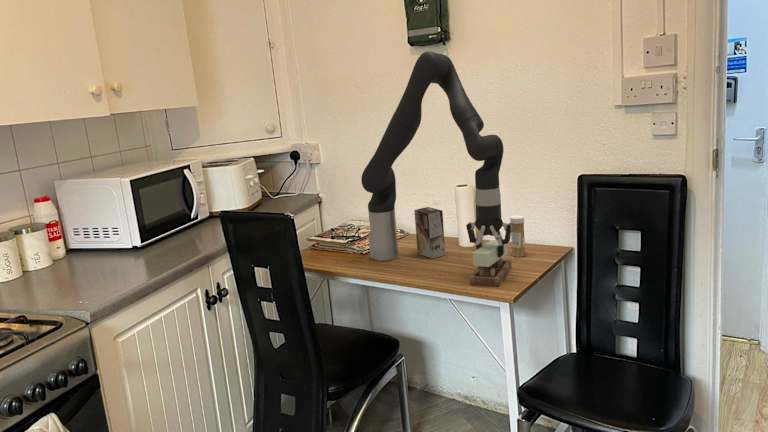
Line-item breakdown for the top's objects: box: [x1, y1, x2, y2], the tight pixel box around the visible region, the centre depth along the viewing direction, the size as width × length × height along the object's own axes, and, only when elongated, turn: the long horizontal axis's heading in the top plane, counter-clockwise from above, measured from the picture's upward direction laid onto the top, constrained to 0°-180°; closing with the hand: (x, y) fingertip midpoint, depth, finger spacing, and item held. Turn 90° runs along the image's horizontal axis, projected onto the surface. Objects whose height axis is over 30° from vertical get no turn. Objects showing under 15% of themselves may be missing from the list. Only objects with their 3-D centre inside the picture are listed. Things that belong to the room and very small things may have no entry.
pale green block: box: [472, 239, 508, 267], centre depth 189 cm, size 14×5×4 cm, turn 146°
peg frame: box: [469, 257, 512, 288], centre depth 191 cm, size 18×9×4 cm, turn 157°
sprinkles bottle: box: [509, 214, 526, 258], centre depth 207 cm, size 5×5×14 cm
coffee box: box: [414, 206, 446, 259], centre depth 216 cm, size 9×6×16 cm
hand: (490, 255), depth 190 cm, fingers closed on pale green block, 5 cm apart
